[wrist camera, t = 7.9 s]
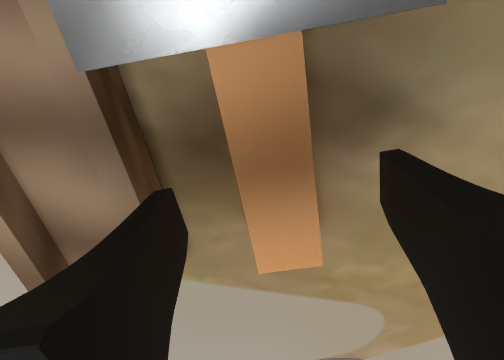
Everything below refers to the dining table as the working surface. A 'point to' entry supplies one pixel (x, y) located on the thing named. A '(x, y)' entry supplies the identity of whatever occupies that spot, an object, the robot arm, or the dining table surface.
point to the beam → (195, 24)
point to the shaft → (271, 146)
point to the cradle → (61, 148)
